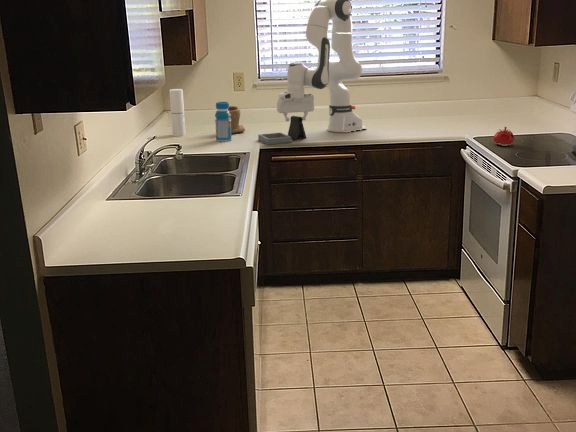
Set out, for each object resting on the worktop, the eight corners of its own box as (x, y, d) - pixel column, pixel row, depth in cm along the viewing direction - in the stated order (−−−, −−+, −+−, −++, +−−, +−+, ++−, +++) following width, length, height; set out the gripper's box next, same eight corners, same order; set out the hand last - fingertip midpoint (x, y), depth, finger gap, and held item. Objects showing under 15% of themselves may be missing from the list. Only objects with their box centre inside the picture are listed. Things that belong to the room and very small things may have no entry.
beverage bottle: (220, 142, 334) (218, 104, 328) (213, 139, 341) (211, 102, 334) (234, 140, 338) (233, 102, 332) (227, 138, 345) (225, 100, 339)
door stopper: (294, 140, 335) (294, 118, 332) (286, 139, 340) (286, 116, 336) (306, 138, 341) (306, 116, 338) (298, 136, 345) (298, 114, 342)
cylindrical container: (170, 135, 354) (166, 89, 346) (180, 133, 359) (177, 88, 351) (178, 137, 350) (174, 90, 342) (188, 135, 355) (185, 89, 347)
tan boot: (226, 136, 350) (224, 108, 345) (216, 133, 359) (215, 106, 355) (250, 133, 357) (249, 106, 353) (240, 130, 367) (239, 103, 362)
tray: (281, 137, 343) (280, 132, 342) (291, 142, 331) (291, 136, 330) (258, 140, 338) (258, 134, 338) (268, 145, 326) (267, 139, 325)
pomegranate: (488, 145, 320) (489, 126, 318) (504, 142, 324) (506, 124, 321) (502, 148, 312) (503, 129, 309) (518, 146, 315) (519, 127, 312)
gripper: (311, 92, 340) (310, 118, 344) (275, 94, 332) (275, 121, 336) (316, 94, 334) (315, 120, 338) (280, 95, 326) (280, 122, 330)
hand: (295, 120), depth 337 cm, fingers open, 8 cm apart
